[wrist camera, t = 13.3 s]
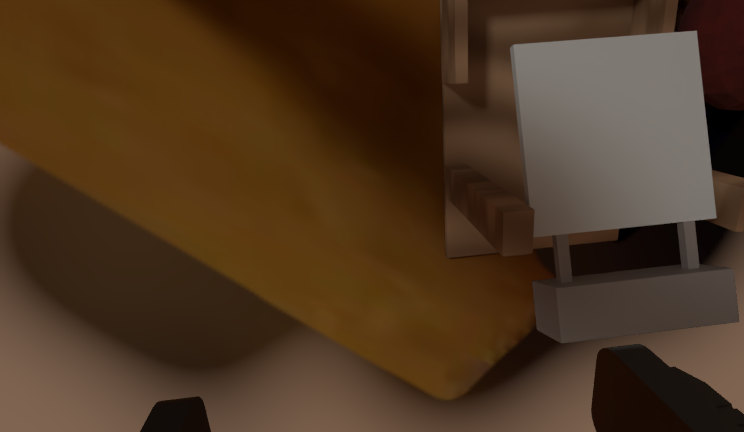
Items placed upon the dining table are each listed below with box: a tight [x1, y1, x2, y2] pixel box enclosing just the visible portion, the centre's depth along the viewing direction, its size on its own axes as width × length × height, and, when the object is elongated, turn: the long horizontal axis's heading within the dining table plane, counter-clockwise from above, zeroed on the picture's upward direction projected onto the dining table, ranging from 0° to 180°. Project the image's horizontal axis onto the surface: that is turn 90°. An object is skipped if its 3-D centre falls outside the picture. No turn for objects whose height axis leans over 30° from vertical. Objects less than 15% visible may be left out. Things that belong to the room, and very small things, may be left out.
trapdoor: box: [510, 31, 739, 343], centre depth 30 cm, size 20×13×4 cm, turn 4°
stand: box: [440, 0, 744, 258], centre depth 34 cm, size 26×18×15 cm
